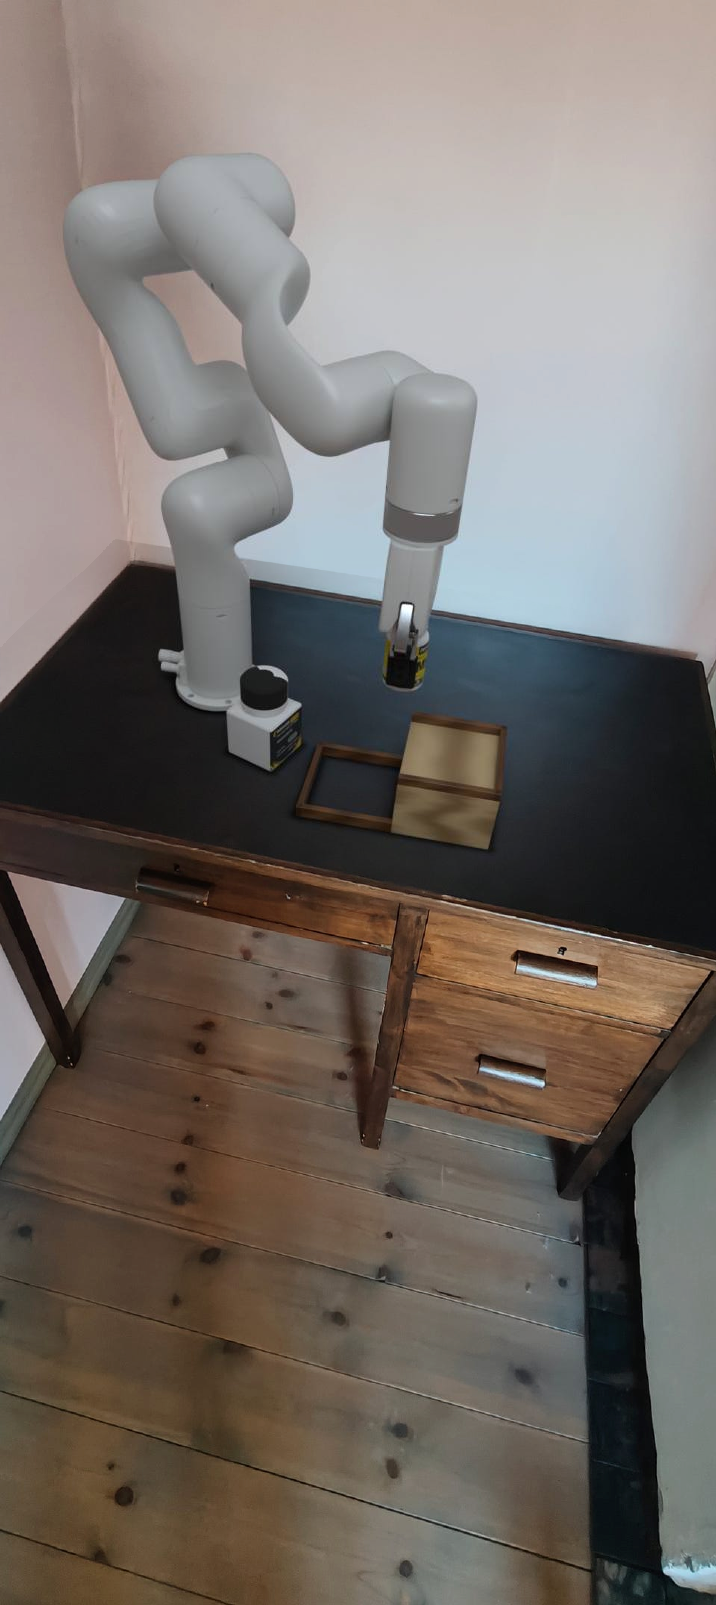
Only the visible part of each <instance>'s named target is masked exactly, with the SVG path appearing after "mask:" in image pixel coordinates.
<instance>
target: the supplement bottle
mask: <svg viewBox="0 0 716 1605" xmlns="http://www.w3.org/2000/svg"><path fill="white" fill-rule="evenodd" d="M428 628H429V623H428V624H427V627H426V630H425V634H424V635H423V636H422V637H421V638H418V644H417V651H416V656H418V663H417V670H416V678H415V685H414V688H413V689H406V688H400V687H394V686H388V685H386V683H385V680H386V671H387V661H388V653H389V652H390V646H391V639H392V630H393V627H392V629H391V630H390V632H389V633H386V636H385V646H384V656H383V664H382V672H381V673H382V674H381V679H382V682H383V684H384V685H385V686H386V687H387V688H389V689H391V690H393V691H396V692H403V693H405V692H407V693H408V692H414V691H417V690H418V689H419V688H421V687H422V685H423V683H424V678H425V671H426V664H427V658H428V657H427V656H428V650H429V643H430V633H429V631H428ZM410 629H412V630H416V628H415V626H411V628H410ZM412 640H413V638H409V640H408V644H409V645H411V647H412Z"/></svg>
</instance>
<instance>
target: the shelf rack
mask: <svg viewBox="0 0 716 1605" xmlns="http://www.w3.org/2000/svg"><path fill="white" fill-rule="evenodd" d="M507 734H508V726H507V725H504V724H503V725H502V724H497V723H491V722H484V721H477V720H474V719H473V720H472V719H466V718H462V717H461V718H460V717H454V716H447V715H443V714H435V713H429V712H424V711H417V710H412V714H411V719H410V724H409V730H408V733H407V738H406V743H405V747H404V752H403V755H401V754H395V753H389V752H383V751H377V750H371V749H365V748H360V747H354V746H347V745H341V744H335V743H329V742H324V741H318V742H317V744H316V747H315V751H314V753H313V756H312V759H311V762H310V764H309V768H308V771H307V774H306V777H305V779H304V782H303V785H302V788H301V791H300V794H299V797H298V800H297V802H296V805H295V816H297V817H300V818H307V819H313V820H319V821H323V822H324V821H325V822H330V823H334V824H341V825H347V826H353V827H357V828H363V829H370V830H373V831H380V832H386V833H392V834H398V835H403V836H409V837H415V838H420V839H426V840H430V841H431V840H432V841H436V842H442V843H447V844H454V845H460V846H466V847H470V848H477V849H482V850H489V846H490V843H491V838H492V834H493V830H494V827H495V822H496V819H497V815H498V811H499V807H500V802H501V800H502V794H503V783H504V772H505V771H504V769H505V761H506V760H505V759H506V747H507V736H508V735H507ZM323 756H327V757H333V758H339V759H345V760H350V761H356V762H361V763H362V762H363V763H368V764H374V765H379V766H385V767H391V768H396V769H399V773H398V776H397V782H396V784H397V785H396V789H395V790H396V792H395V797H394V805H393V812H392V818H388V817H382V816H377V815H372V814H365V813H360V812H353V811H349V810H343V809H338V808H337V809H336V808H331V807H325V806H320V805H314V804H308V800H309V796H310V794H311V791H312V788H313V786H314V782H315V779H316V777H317V773H318V770H319V767H320V764H321V761H322V758H323Z"/></svg>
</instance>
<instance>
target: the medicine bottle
mask: <svg viewBox="0 0 716 1605" xmlns="http://www.w3.org/2000/svg"><path fill="white" fill-rule="evenodd" d="M240 698H241V699H240V700H239V701H238V702H237V703H235V704H234V705H233V706H232V707H230V708H229V709H228V710H227V711H226V729H227V744H228V752H229V753H230V754H232V755H234V756H237V757H238V758H241V759H243V760H245V761H247V762H249V763H251V764H254V765H256V766H258V767H260V768H262V769H264V770H266V771H268V772H273V771H274V770H275V769H276V768H277V767H278V766H280V764H281V763H283V762H284V761H285V760H286V759H287V758H288V757H289V756H290V755H291V754H293V753H294V752H295V751H296V750H297V749H298V748H299V747H300V746H301V744H302V717H303V716H302V715H303V714H302V712H303V711H302V710H303V709H302V708H303V705H302V703H301V702H299V701H296V700H294V699H292V698H290V697H289V678H288V676H287V674H286V673H285V672H284V671H283V670H281V669H280V668H278V667H275V666H272V665H265V664H263V665H255V667H252V668H249V669H248V670H246V671H245V672H244V673H243V674H242V675H241V677H240Z"/></svg>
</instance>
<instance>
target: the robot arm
mask: <svg viewBox="0 0 716 1605" xmlns="http://www.w3.org/2000/svg"><path fill="white" fill-rule="evenodd" d="M296 216H297V215H296V202H295V196H294V193H293V190H292V188H291V184H290V182H289V181H288V179H287V176H286V175H285V174H284V172H283V170H282V169H281V168H280V167H279V166H278V165H277V164H276V162H274V161H272V160H271V159H270V158H268V157H266V156H265V155H262V154H260V153H255V152H234V153H233V152H232V153H231V152H230V153H208V154H205V153H204V154H196V155H190V156H185V157H183V158H179V159H177V160H176V161H174V162H173V163H171V164H170V165H169V166H167V167H166V168H165V169H164V170H163V172H162V173H161V175H160V176H159V178H154V179H153V178H152V179H129V180H117V181H116V180H115V181H111V182H110V181H109V182H104V183H99V184H96V185H93V186H90V187H88V188H85V189H83V190H82V191H79V193H77V194H76V195H75V196H74V197H73V198H72V199H71V200H70V201H69V203H68V205H67V207H66V209H65V212H64V217H63V223H62V242H63V249H64V254H65V258H66V259H65V260H66V263H67V266H68V270H69V273H70V276H71V278H72V281H73V283H74V286H75V288H76V290H77V293H78V294H79V296H80V298H81V301H82V302H83V304H84V306H85V308H86V309H87V311H88V312H89V314H90V316H91V317H92V319H93V320H94V322H95V324H96V326H97V327H98V329H99V330H100V333H101V335H103V338H104V340H105V341H106V343H107V345H108V347H109V350H110V352H111V355H112V357H113V360H114V362H115V365H116V368H117V371H118V374H119V376H120V378H121V381H122V384H123V386H124V388H125V389H124V390H125V391H126V394H127V396H128V399H129V402H130V404H131V407H132V409H133V412H134V415H135V417H136V420H137V422H138V425H139V427H140V429H141V431H142V434H143V437H144V438H145V440H146V442H147V444H148V446H149V448H150V449H151V451H152V452H153V454H155V455H156V456H157V457H158V458H160V459H161V460H165V461H173V462H175V461H181V460H186V459H190V458H194V457H197V456H200V455H204V454H207V453H211V452H214V451H217V450H220V449H223V451H224V453H225V455H226V458H227V459H224V460H221V461H216V462H213V463H210V464H207V465H203V466H200V467H198V468H197V467H196V468H194V469H192V470H191V469H190V470H189V471H187V472H185V473H181V475H178V476H177V477H175V478H174V479H172V480H171V482H170V483H169V484H168V485H167V486H166V487H165V489H164V491H163V493H162V496H161V501H160V510H161V516H162V520H163V524H164V527H165V530H166V533H167V536H168V541H169V543H170V547H171V552H172V557H173V562H174V569H175V578H176V586H177V594H178V595H177V596H178V605H179V614H180V615H179V616H180V626H181V638H182V646H183V647H182V648H183V649H182V650H181V651H174V650H171V649H164V648H160V649H159V651H158V656H157V657H158V659H157V660H158V662H159V663H161V664H160V671H162V672H167V673H175V674H176V678H175V687H176V688H175V689H176V692H177V694H178V696H179V698H181V699H182V701H184V702H185V703H186V704H188V705H190V706H191V707H193V708H197V709H200V710H203V711H209V712H227V710H228V709H229V708H230V707H232V706H233V705H234V704H235V703H237V702H238V701H239V700H240V699H241V698H240V677H241V675H242V674H243V673H244V672H245V671H246V670H248V669H249V668H252V667H255V666H256V665H255V664H253V642H252V608H251V584H250V583H251V582H250V581H251V580H250V575H249V571H248V568H247V565H246V564H245V563H244V561H243V560H242V559H241V557H239V556H238V554H237V552H236V551H235V546H236V545H237V544H238V543H239V542H241V541H243V540H246V539H248V538H249V537H252V536H254V535H257V534H259V533H262V532H264V531H266V530H269V529H271V528H274V527H276V526H278V525H280V524H282V523H283V522H284V521H285V520H286V519H287V518H288V517H289V516H290V514H291V511H292V510H293V505H294V488H293V483H292V479H291V475H290V472H289V469H288V468H289V467H288V465H287V462H286V459H285V456H284V452H283V450H282V446H281V444H280V441H279V438H278V434H277V432H276V429H275V426H274V423H273V420H272V417H273V418H274V420H275V421H276V422H278V424H279V425H280V426H281V428H282V429H284V430H285V432H286V433H287V434H288V435H289V436H290V437H291V438H292V439H293V440H294V441H295V442H296V443H297V444H299V445H300V446H301V447H303V449H305V450H307V451H308V452H310V453H312V454H314V455H317V456H321V457H327V458H333V457H339V456H342V455H345V454H349V453H351V452H354V451H356V450H359V449H362V448H364V447H367V446H371V445H373V444H377V443H382V442H388V441H389V446H388V455H387V456H388V458H387V468H386V480H385V493H384V501H383V502H384V505H383V516H382V526H381V529H382V531H383V533H384V535H385V536H386V537H387V538H389V539H390V542H389V547H388V551H387V552H388V553H387V557H386V566H385V573H384V582H383V590H382V596H381V598H382V599H381V606H380V615H379V620H378V631H379V632H380V633H381V634H384V633H386V634H387V633H389V632H390V630H391V629H392V627H393V630H392V639H391V646H390V652H389V653H388V661H387V671H386V680H385V683H386V685H388V686H394V687H400V688H406V689H413V688H414V685H415V678H416V670H417V663H418V656H416V651H417V644H418V638H421V637H422V636H423V635H424V634H425V630H426V627H427V624H428V625H429V620H430V618H431V617H430V616H431V614H432V610H433V607H434V603H435V599H436V594H437V590H438V586H439V582H440V577H441V576H440V575H441V570H442V563H443V557H444V550H445V546H447V545H450V544H452V543H453V542H455V541H456V540H457V538H458V536H459V531H460V525H461V518H462V512H463V505H464V497H465V492H466V484H467V478H468V471H469V465H470V458H471V452H472V445H473V438H474V432H475V427H476V426H475V425H476V419H477V411H478V396H477V392H476V390H475V388H474V387H473V386H472V385H471V384H470V383H469V381H466V380H465V379H462V378H459V377H457V376H455V375H450V374H446V373H437V372H434V371H433V370H431V369H429V368H428V367H426V366H425V365H423V364H422V363H420V362H419V361H417V360H416V359H414V358H413V357H410V356H409V355H407V354H405V353H403V352H400V351H396V350H388V349H387V350H379V351H375V352H371V353H368V354H363V355H357V356H354V357H349V358H346V359H342V360H339V361H334V362H331V363H327V364H324V365H321V364H320V363H318V362H317V361H316V360H315V359H314V357H312V356H311V355H310V353H309V352H308V351H307V350H306V349H305V348H304V347H303V346H302V344H300V342H299V341H298V340H297V339H296V337H295V336H294V335H293V334H292V332H291V331H290V330H289V328H288V326H289V325H290V324H291V323H292V321H294V319H295V318H296V316H297V315H298V314H299V312H300V310H301V309H302V307H303V305H304V303H305V300H306V298H307V296H308V293H309V290H310V284H311V268H310V265H309V262H308V259H307V257H306V256H305V254H304V253H303V251H301V249H299V247H297V245H296V244H294V242H293V241H292V240H291V238H290V237H291V235H292V233H293V231H294V227H295V224H296ZM192 271H194V273H195V274H196V275H197V277H199V278H200V279H201V280H202V281H203V283H204V284H205V285H206V286H207V287H208V288H209V289H210V290H211V292H212V293H213V294H214V295H215V296H216V298H218V300H219V301H220V302H221V303H222V304H223V305H224V306H225V307H226V309H227V310H228V311H229V312H230V313H231V314H232V315H233V316H234V317H235V318H236V320H237V321H238V322H239V323H240V325H241V350H242V357H243V361H244V364H245V367H244V366H242V365H241V364H240V363H238V362H235V361H232V360H227V359H219V360H218V359H217V360H213V361H208V362H205V363H199V364H197V363H196V362H195V360H194V359H193V357H192V355H191V352H190V350H189V347H188V345H187V343H186V339H185V336H184V333H183V330H182V327H181V326H180V323H179V321H178V320H177V318H176V317H175V316H174V314H173V313H172V312H171V310H170V309H169V307H168V306H167V305H166V304H165V303H164V301H162V299H160V298H159V296H157V295H156V294H155V293H154V292H153V291H152V290H150V289H149V287H147V286H146V285H145V284H144V279H145V278H149V277H154V276H164V275H170V274H171V275H172V274H177V273H185V272H192ZM271 416H272V417H271ZM411 626H415V628H416V630H412V629H410V628H411ZM409 638H413V640H412V647H411V645H409V644H408V640H409ZM386 685H385V686H386Z"/></svg>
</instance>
